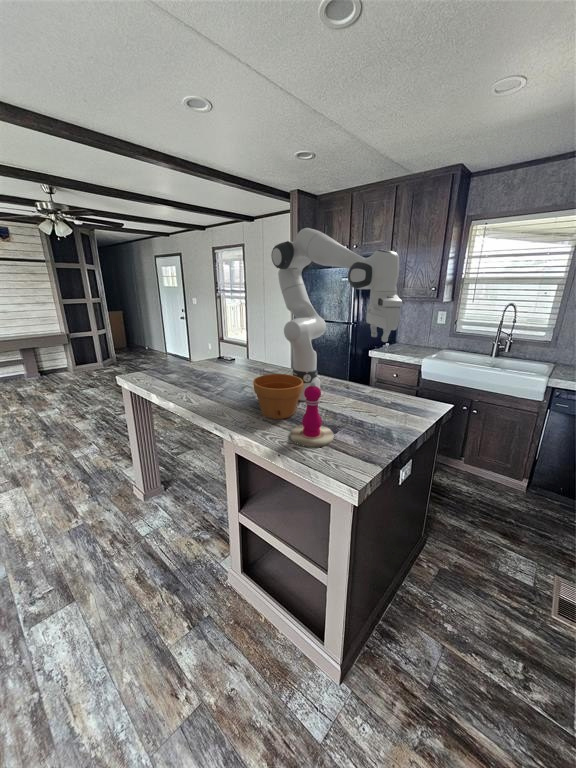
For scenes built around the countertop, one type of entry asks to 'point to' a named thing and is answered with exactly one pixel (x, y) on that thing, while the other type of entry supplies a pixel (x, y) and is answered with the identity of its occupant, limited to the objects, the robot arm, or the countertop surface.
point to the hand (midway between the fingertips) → (379, 339)
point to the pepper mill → (312, 412)
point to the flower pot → (278, 394)
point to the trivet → (321, 440)
